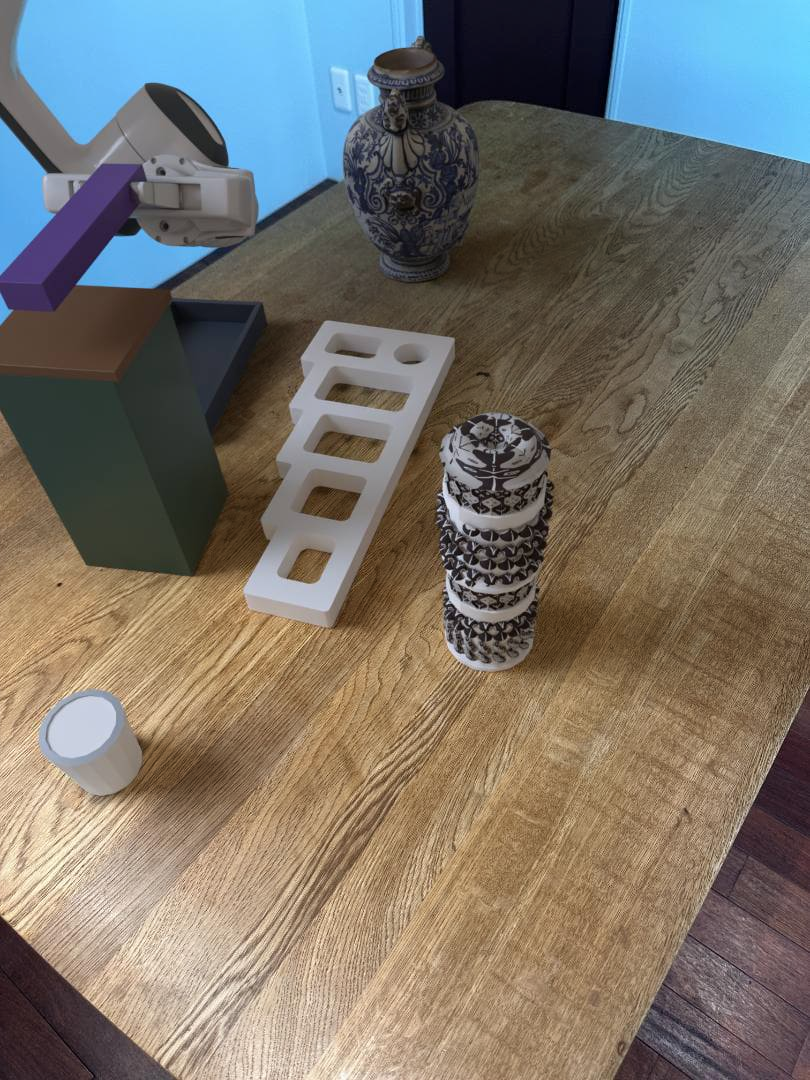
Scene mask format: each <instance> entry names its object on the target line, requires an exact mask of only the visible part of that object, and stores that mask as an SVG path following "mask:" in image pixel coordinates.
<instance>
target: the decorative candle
mask: <svg viewBox="0 0 810 1080" xmlns="http://www.w3.org/2000/svg"><path fill="white" fill-rule="evenodd" d="M438 454H439V458H440V462H441V464H442V467H443V469H444V473H443V474H444V475H443V478H442V489H440V490H439V491H437V494H436V500H437V502H438V505H436V506H435V514H436V516H437V518H436V519H435V523H436V526H437V527H438V528H439V529H440V534H439V536H438V543H439V545H440V546H439V548H438V552H439V554H440V555H441V558H442V566H443V569H444V570H445V572H446V575H445V577H444V584H445V586H444V587H443V588H442V591H441V595H442V596H443V597H444V599H443V600H442V605H443V607H444V609H443V612H442V618H443V623H442V626H443V629H444V638H445V642H446V645H447V649H448V650H449V652H450V654H452V655H453V656H454V658H455V659H456V660H457V661H458V662H459V663H461V664H463V665H464V666H466V667H468V668H470V669H472V670H473V671H482V672H487V673H495V672H501V671H506V670H510V669H512V668H513V667H516V665H518V664H519V663H522V662H524V660H525V659H526V658H527V656H528V655H529V653H530V651H531V650H532V649H533V644H534V638H535V637H536V633H535V629H536V628H537V621H536V620H535V618H536V617H537V615H538V610H537V607H538V606H539V598H538V597H537V596H538V595H540V590H541V588H540V587H539V586H538V585H537V579H538V573H539V571H540V570H541V567H542V563H543V562H544V559H545V556H544V551H545V549H546V548H547V546H548V540H547V538H546V537H547V536H548V535H549V531H550V526H549V523H548V522H549V521H550V519H551V518H552V517H553V513H554V512H553V509H552V506H553V504H554V497H555V496H554V495H553V493H551V492H552V491H553V490H554V489H555V484H554V483H553V481H552V480H550V479H548V476H549V473H548V471H547V470H546V469H547V468H548V467H549V465H550V462H551V454H552V448H551V446H550V443H549V441H548V438H547V437H546V435H545V434H544V433H543V432H542V431H540V429H538V428H537V427H536V426H535V425H533V424H532V423H530V422H528V421H525V420H524V419H523V418H521V417H518V416H516V415H513V414H510V413H507V412H506V413H505V412H495V411H492V412H486V413H481V414H477V415H475V416H472V417H471V418H469V419H467V420H465V421H463V422H461V423H459V424H457V425H455V426H453V428H451V430H449V432H448V433H446V434H445V436H444V437H443V438H442V441H441V445H440V448H439V452H438Z"/></svg>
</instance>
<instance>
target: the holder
mask: <svg viewBox="0 0 810 1080" xmlns="http://www.w3.org/2000/svg"><path fill="white" fill-rule="evenodd" d="M339 351H348V352H355V353H360V354H368V355H374V356H373V357H370V358H366V357H360V356H353V355H346V354H339V353H337V352H339ZM455 358H456V340H455V338H454V337H450V336H445V335H437V334H436V335H435V334H431V333H430V334H428V333H422V332H415V331H408V330H401V329H400V330H399V329H394V328H393V329H392V328H385V327H377V326H373V325H372V326H371V325H363V324H356V323H349V322H342V321H334V320H325V321H324V322H323V323H322V324H321V326H320V327H319V329H318V331H317V332H316V334H315V335H314V337H313V338H312V340H311V341H310V343H309V345H308V346H307V347H306V349H305V350H304V352H303V354H302V355H301V356H300V363H301V369H302V375H303V378H305V379H303V382H302V384H301V385H300V387H299V388H298V390H297V391H296V393H295V395H294V396H293V398H292V399H291V401H290V402H289V404H288V409H289V412H290V418H291V423H292V425H294V428H293V429H292V431H291V432H290V434H289V436H288V437H287V439H286V441H284V443H283V445H282V447H281V449H280V450H279V452H278V454H277V455H276V457H275V462H276V466H277V471H278V474H279V478H280V479H282V482H281V483H280V485H279V487H278V489H277V490H276V492H275V493H274V496H273V497H272V499H271V501H270V502H269V504H268V506H267V508H266V509H265V511H264V512H263V514H262V516H261V517H260V523H261V527H262V530H263V533H264V534H263V535H264V537H265V540H268V541H269V542H268V545H267V546H266V548H265V550H264V551H263V554H262V555H261V557H260V559H259V561H258V562H257V564H256V566H255V567H254V570H253V571H252V573H251V575H250V577H249V579H248V580H247V582H246V584H245V585H244V588H243V590H242V591H243V595H244V597H245V601H246V603H247V606H248V610H250V611H254V612H258V613H262V614H265V615H270V616H275V617H278V618H284V619H287V620H291V621H296V622H300V623H305V624H308V625H312V626H316V627H322V628H324V629H325V628H326V629H331V628H333V627H334V624H335V622H336V620H337V619H338V616H339V614H340V611H341V609H342V607H343V605H344V603H345V600H346V598H347V596H348V594H349V592H350V589H351V587H352V585H353V583H354V581H355V578H356V577H357V574H358V573H359V571H360V567H361V565H362V563H363V561H364V559H365V556H366V554H367V552H368V551H369V548H370V546H371V543H372V541H373V539H374V537H375V534H376V532H377V530H378V528H379V525H380V523H381V522H382V519H383V517H384V515H385V513H386V510H387V509H388V506H389V503H390V501H391V499H392V497H393V495H394V493H395V490H396V488H397V486H398V483H399V482H400V479H401V477H402V475H403V473H404V471H405V468H406V466H407V464H408V462H409V461H410V460H409V459H410V457H411V456H412V453H413V451H414V449H415V446H416V444H417V442H418V439H419V438H420V435H421V433H422V431H423V428H424V426H425V424H426V423H427V420H428V418H429V415H430V414H431V411H432V409H433V407H434V404H435V402H436V401H437V398H438V395H439V394H440V391H441V389H442V387H443V384H444V382H445V381H446V378H447V376H448V374H449V371H450V370H451V367H452V365H453V363H454V360H455ZM412 361H414V362H418V363H415V364H414V363H413V364H408V363H407V362H412ZM337 384H344V385H351V386H357V387H363V388H368V389H369V388H370V389H376V390H382V391H387V392H394V393H401V394H407V395H408V398H407V400H406V402H405V404H404V406H403V408H402V409H400V410H397V411H393V410H387V409H381V408H375V407H369V406H363V405H356V404H351V403H344V402H338V401H332V400H326V399H327V396H328V395H329V394H330V392H331V390H332V389H333V387H334V386H335V385H337ZM329 432H334V433H338V434H339V433H340V434H344V435H349V436H356V437H362V438H367V439H374V440H379V441H385V442H386V443H385V444H384V447H383V449H382V451H381V453H380V455H379V457H378V459H377V460H376V461H374V462H367V461H361V460H354V459H350V458H343V457H338V456H333V455H327V454H321V453H317V452H315V450H316V448H317V446H318V445H319V443H320V441H321V439H322V437H323V436H324V435H325V434H326V433H329ZM317 487H324V488H330V489H334V490H339V491H340V490H341V491H345V492H351V493H354V494H355V493H356V494H360V495H359V498H358V499H357V501H356V504H355V506H354V508H353V510H352V512H351V514H350V516H349V517H348V518H347V519H346V520H336V519H331V518H326V517H322V516H316V515H311V514H307V513H302V512H301V511H302V510H303V508H304V505H305V504H306V502H307V500H308V498H309V496H310V495H311V493H312V491H314V489H315V488H317ZM308 549H310V550H315V551H319V552H323V553H324V552H325V553H329V554H331V555H330V557H329V558H328V562H327V563H326V566H325V567H324V569H323V571H322V573H321V575H320V578H319V579H318V580H317V581H316V582H313V583H306V582H302V581H297V580H293V579H288V577H289V575H290V573H291V571H292V569H293V567H294V566H295V563H296V561H297V560H298V557H299V555H300V554H301V552H302V551H304V550H308Z"/></svg>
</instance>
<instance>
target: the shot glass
mask: <svg viewBox="0 0 810 1080" xmlns="http://www.w3.org/2000/svg"><path fill="white" fill-rule="evenodd" d="M37 743H38V746H39V749H40V751H41V753H42V756H43V757H44V758H45V759H47V760H48V761H49V762H50V763H51V764H53V765H54V766H55V767H57V768H58V769H59V770H60V771H61V772H62V773H63V774H65V775H66V776H67V777H68V778H70V780H72V781H73V782H74V783H76V784H77V786H79V787H80V788H81V789H82V790H84V791H86V792H87V793H88V794H89V795H93V796H94V795H95V796H100V797H104V796H108V795H114V794H117V793H118V792H120V791H122V790H123V789H125V788H127V787H129V785H130V784H131V783H132V782H133V781H134V780H135V778H136V777H137V776H138V774H139V772H140V770H141V767H142V765H143V751H142V749H141V746H140V744H139V742H138V740H137V737H136V734H135V732H134V729H133V727H132V725H131V723H130V721H129V718H128V716H127V713H126V711H125V709H124V707H123V705H122V703H121V700H120V698H118V697H116V696H115V695H114V694H112V693H110V692H109V691H107V690H103V689H95V688H90V689H86V690H81V691H76V692H74V693H72V694H70V695H68V696H66V697H65V698H62V699H61V700H59V701H58V702H57V703H56V704H55V705H54V706H53V707H52V708H51V709H50V710H49V711H48V712H47V713H46V714H45V717H44V718H43V721H42V722H41V725H40V726H39V729H38V740H37Z"/></svg>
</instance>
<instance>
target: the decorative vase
mask: <svg viewBox="0 0 810 1080" xmlns="http://www.w3.org/2000/svg"><path fill="white" fill-rule="evenodd" d="M431 45H432V44H431V43H430V42H428V41H427V40H426V39H425V37H424V36H423V35H418V36H417V37H416V40H415V41H414V42H412V43H411V45H410V46H409V47H400V48H399V47H398V48H393V49H389V50H387V51H384V52H382V53H380V54H379V55H378V56H376V57H375V58H374V60H373V65H371V66H370V67H369V69H368V70H367V74H366V78H367V80H368V82H369V83H370V84H371V85H373V86H375V87H377V88H378V89H379V92H380V93H379V94H378V97H377V98H378V101H379V103H380V104H379V105H376V106H374V107H372V108H370V109H368V110H366V111H365V112H363V113H362V114H360V116H358V117H357V119H356V120H355V121H353V124H352V125H351V126H350V128H349V130H348V132H347V135H346V137H345V140H344V144H343V151H342V173H343V180H344V186H345V192H346V195H347V199H348V201H349V204H350V207H351V209H352V211H353V214H354V216H355V218H356V220H357V222H358V225H359V226H360V228H361V229H362V231H363V232H364V234H365V236H366V237H367V239H368V240H369V241H370V242H371V243H372V245H374V247H375V248H376V249H377V250H378V251H380V252H381V254H380V257H379V268H380V270H381V272H382V273H383V274H384V275H385V276H386V277H388V278H390V279H392V280H393V281H394V280H395V281H398V282H403V283H423V282H427V281H431V280H434V279H437V278H439V277H441V276H443V274H445V273H446V272H447V270H448V269H449V268H450V267H449V266H450V263H451V258H450V254H449V252H450V251H453V249H454V248H458V247H460V246H462V245H463V243H464V241H463V240H464V239H465V233H466V231H467V230H468V228H469V226H470V223H469V217H470V214H471V212H472V210H473V206H474V203H475V201H476V197H477V191H478V187H479V178H480V152H479V146H478V140H477V136H476V134H475V131H474V129H473V128H472V125H471V124H470V123H469V121H468V120H467V119H466V117H465V116H463V115H462V114H461V113H460V112H458V111H457V110H456V109H454V108H453V107H452V106H450V105H448V104H446V103H444V102H441V101H438V99H437V98H436V97H437V92H436V90H435V88H434V86H435V84H436V83H437V82H438V81H440V80H441V79H442V78H443V76H444V75H445V72H446V70H445V67H444V65H443V63H442V62H440V61H439V60H438V59H437V56H436V54H435V53H434V52H433V51H432V46H431Z"/></svg>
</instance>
